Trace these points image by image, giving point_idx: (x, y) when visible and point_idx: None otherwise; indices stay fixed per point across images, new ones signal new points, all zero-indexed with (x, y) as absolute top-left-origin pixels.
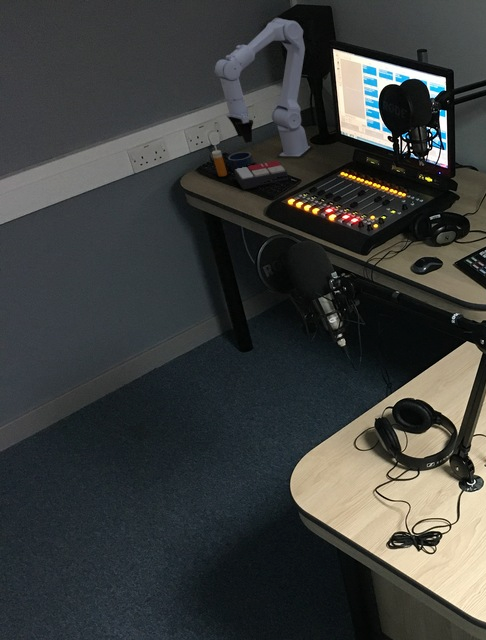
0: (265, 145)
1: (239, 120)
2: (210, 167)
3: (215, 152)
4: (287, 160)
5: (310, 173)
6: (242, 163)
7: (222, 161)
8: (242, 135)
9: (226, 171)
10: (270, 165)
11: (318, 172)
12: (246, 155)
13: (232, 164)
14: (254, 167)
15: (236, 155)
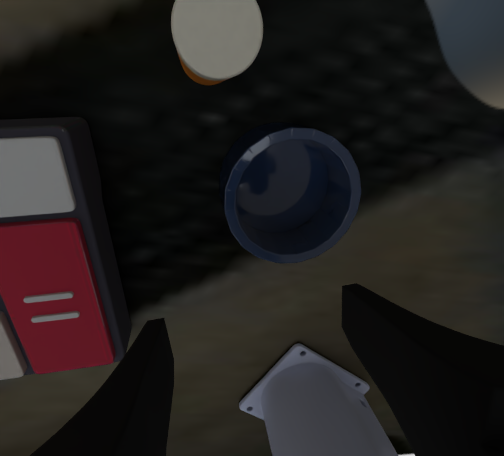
0: (463, 305)
1: (428, 432)
2: (396, 14)
3: (200, 14)
4: (235, 363)
5: (20, 427)
6: (222, 194)
7: (186, 68)
8: (128, 363)
9: (201, 83)
10: (36, 333)
11: (18, 450)
12: (321, 233)
13: (251, 137)
14: (26, 254)
15: (345, 184)
